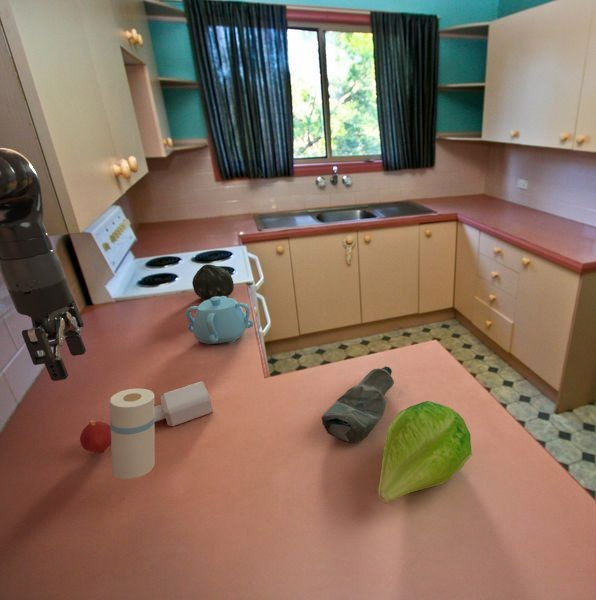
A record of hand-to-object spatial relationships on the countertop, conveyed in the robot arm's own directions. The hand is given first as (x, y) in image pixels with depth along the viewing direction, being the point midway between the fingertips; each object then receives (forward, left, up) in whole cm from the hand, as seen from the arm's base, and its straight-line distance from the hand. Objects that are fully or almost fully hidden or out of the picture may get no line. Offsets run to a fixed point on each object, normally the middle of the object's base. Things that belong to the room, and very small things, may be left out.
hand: (70, 366), depth 75 cm
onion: (-7, +5, -25) cm, 26 cm away
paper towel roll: (+11, -4, -17) cm, 21 cm away
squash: (-32, +85, -25) cm, 94 cm away
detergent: (+45, +27, -25) cm, 58 cm away
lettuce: (+61, +9, -25) cm, 67 cm away
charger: (+1, +18, -25) cm, 31 cm away
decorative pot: (-10, +56, -25) cm, 62 cm away
